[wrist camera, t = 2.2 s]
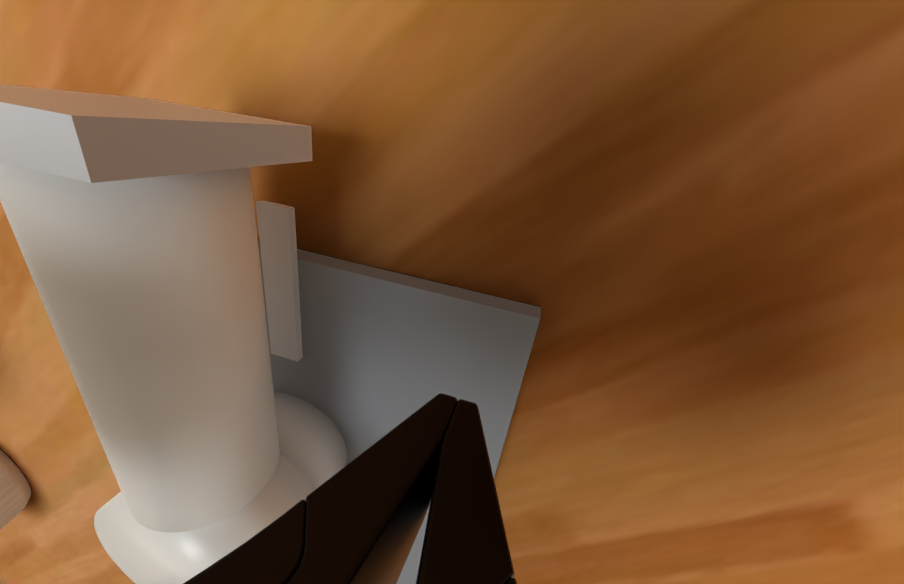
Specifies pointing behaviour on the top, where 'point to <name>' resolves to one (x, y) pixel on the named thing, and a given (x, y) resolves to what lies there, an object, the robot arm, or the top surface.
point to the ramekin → (11, 490)
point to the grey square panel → (378, 353)
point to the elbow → (157, 309)
